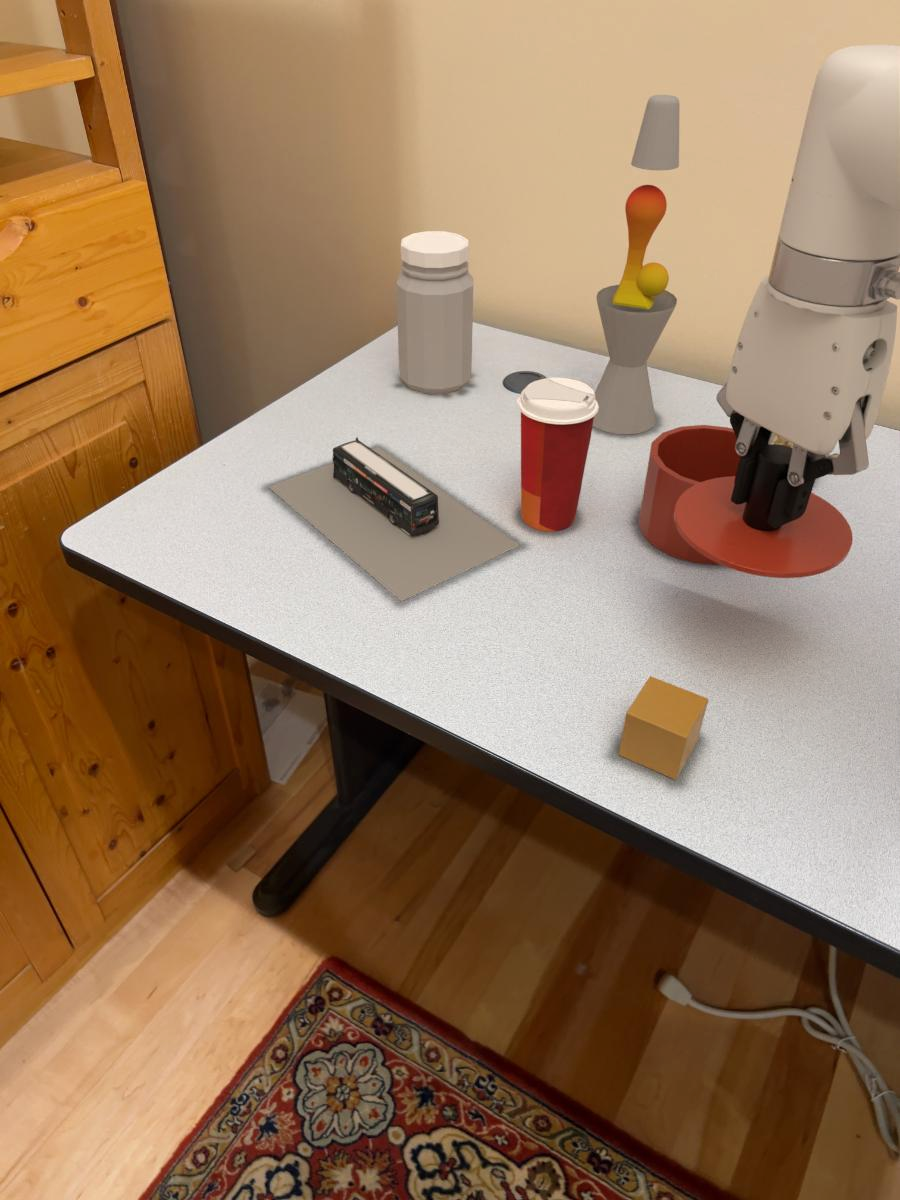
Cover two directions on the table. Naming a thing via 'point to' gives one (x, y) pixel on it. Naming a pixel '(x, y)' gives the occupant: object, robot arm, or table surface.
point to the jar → (435, 312)
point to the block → (662, 727)
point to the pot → (682, 481)
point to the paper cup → (554, 449)
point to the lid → (762, 525)
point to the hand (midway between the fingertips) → (765, 508)
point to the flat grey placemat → (391, 519)
